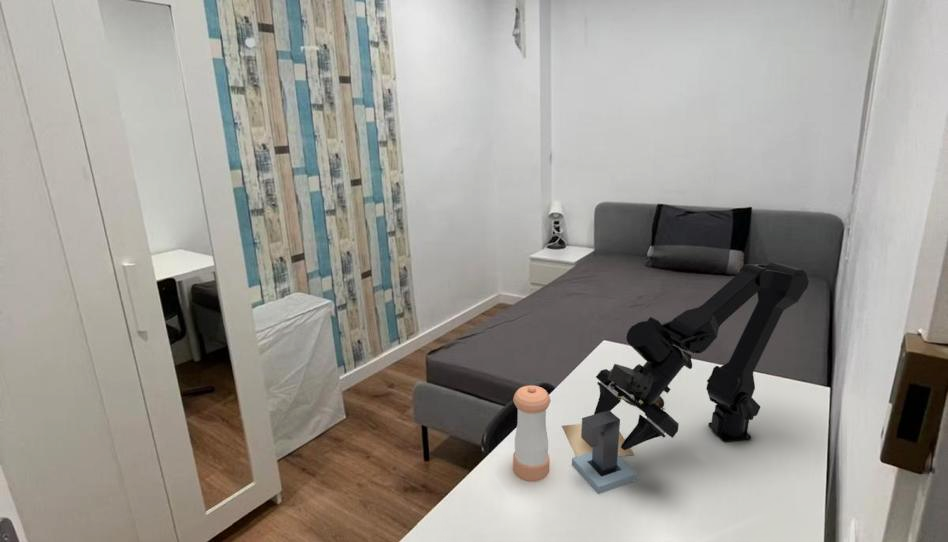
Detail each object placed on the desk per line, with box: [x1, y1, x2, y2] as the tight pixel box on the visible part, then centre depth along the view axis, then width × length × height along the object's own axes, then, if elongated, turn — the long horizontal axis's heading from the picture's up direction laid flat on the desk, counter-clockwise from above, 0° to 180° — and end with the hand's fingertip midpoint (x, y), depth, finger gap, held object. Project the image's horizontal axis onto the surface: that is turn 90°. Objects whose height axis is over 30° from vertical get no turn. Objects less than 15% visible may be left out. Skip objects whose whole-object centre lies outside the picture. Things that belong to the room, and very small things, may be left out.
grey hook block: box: [581, 410, 621, 477], centre depth 98 cm, size 6×3×13 cm, turn 112°
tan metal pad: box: [561, 423, 635, 458], centre depth 111 cm, size 12×12×1 cm
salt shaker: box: [512, 385, 551, 482], centre depth 100 cm, size 7×7×19 cm
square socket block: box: [571, 452, 638, 495], centre depth 101 cm, size 9×9×2 cm
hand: (607, 434), depth 98 cm, fingers open, 9 cm apart
